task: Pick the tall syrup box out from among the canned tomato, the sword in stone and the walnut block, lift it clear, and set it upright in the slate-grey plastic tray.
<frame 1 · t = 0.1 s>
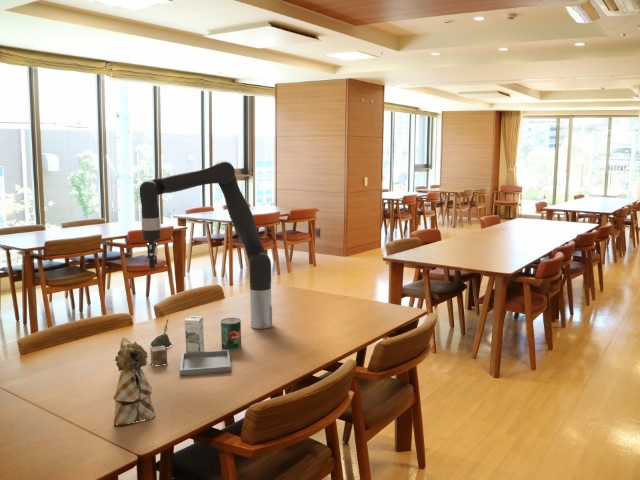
hand: (153, 266, 251), 29 cm above the table, tool pointing down, fingers open, 8 cm apart
walnut block: (159, 363, 220), on the table
syrup box: (195, 354, 230), on the table
sword in stone: (160, 347, 239), on the table
plush toy: (136, 416, 178), on the table
slate tray: (205, 365, 218), on the table
canned tomato: (231, 347, 238), on the table
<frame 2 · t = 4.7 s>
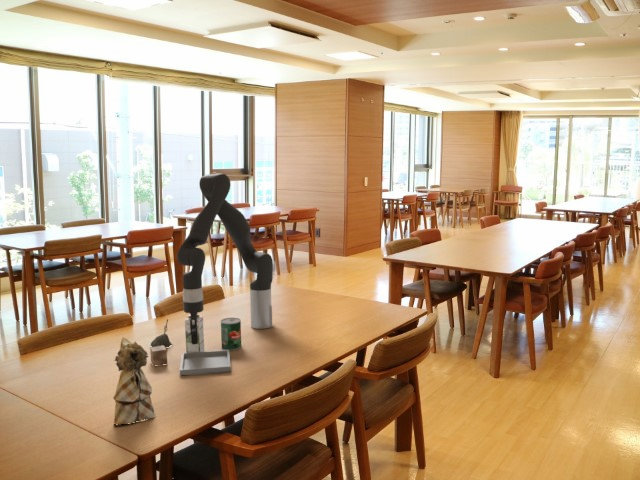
hand: (194, 340, 229), 5 cm above the table, tool pointing down, fingers closed on syrup box, 6 cm apart
syrup box: (195, 354, 230), on the table, touching gripper
everything else where it was.
when the fingers open (7 cm above the table, at t = 11.5 s): syrup box drops 1 cm, resting on slate tray.
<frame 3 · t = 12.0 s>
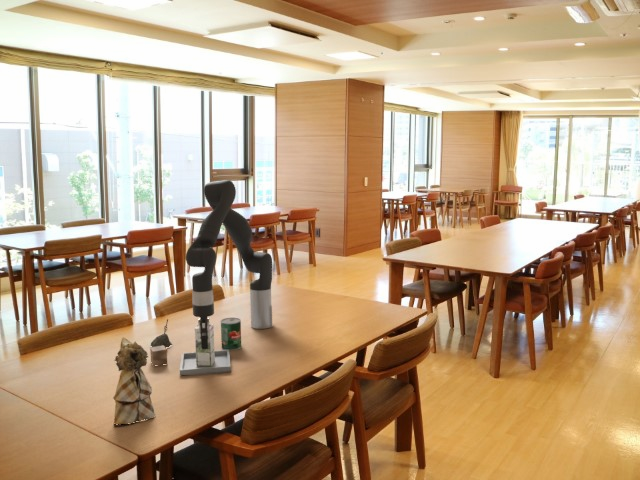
hand: (204, 345, 217), 8 cm above the table, tool pointing down, fingers open, 8 cm apart
syrup box: (205, 364, 218), resting on slate tray
everything else where it was.
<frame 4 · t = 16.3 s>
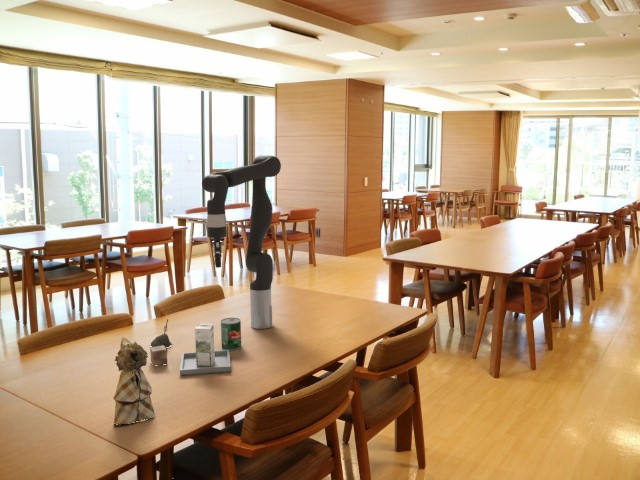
hand: (218, 265, 238), 32 cm above the table, tool pointing down, fingers open, 8 cm apart
nothing on the table moved.
at the end: syrup box inside the target area on the slate tray (0.2 cm from its centre), point 0.4 cm above the slate tray's base; syrup box tilted 0°; the gripper is holding nothing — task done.
